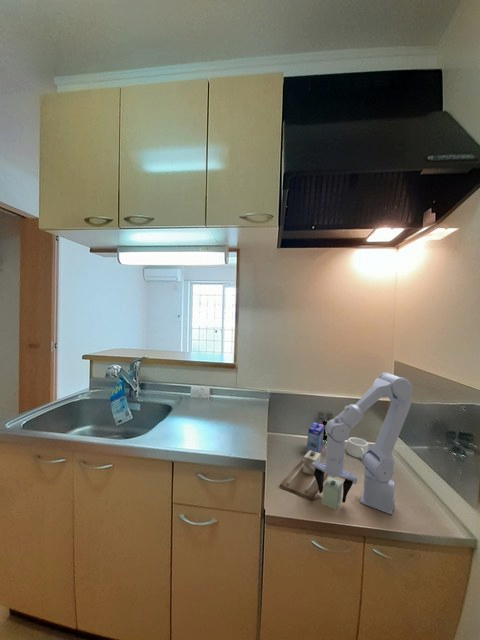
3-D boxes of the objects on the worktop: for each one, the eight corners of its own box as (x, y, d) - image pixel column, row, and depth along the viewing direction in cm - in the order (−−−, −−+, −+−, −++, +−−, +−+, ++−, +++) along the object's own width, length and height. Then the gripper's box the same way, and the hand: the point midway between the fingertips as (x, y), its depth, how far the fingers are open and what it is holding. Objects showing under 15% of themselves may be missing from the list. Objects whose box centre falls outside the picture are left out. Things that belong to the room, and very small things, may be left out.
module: (341, 498, 95) (342, 479, 95) (336, 510, 90) (337, 489, 90) (328, 493, 98) (329, 475, 98) (322, 504, 92) (323, 484, 92)
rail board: (329, 472, 112) (331, 453, 112) (312, 500, 93) (313, 477, 93) (301, 462, 118) (302, 444, 118) (279, 486, 100) (281, 465, 100)
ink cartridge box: (318, 458, 123) (320, 426, 123) (306, 454, 125) (308, 423, 125) (322, 449, 132) (324, 419, 131) (311, 446, 134) (313, 416, 134)
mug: (343, 448, 135) (344, 435, 135) (363, 450, 134) (364, 437, 134) (351, 460, 123) (352, 447, 123) (374, 462, 122) (375, 449, 122)
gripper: (310, 454, 94) (307, 493, 94) (355, 469, 86) (352, 512, 86) (316, 446, 100) (314, 484, 100) (359, 460, 92) (356, 500, 92)
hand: (332, 496), depth 94 cm, fingers open, 7 cm apart
